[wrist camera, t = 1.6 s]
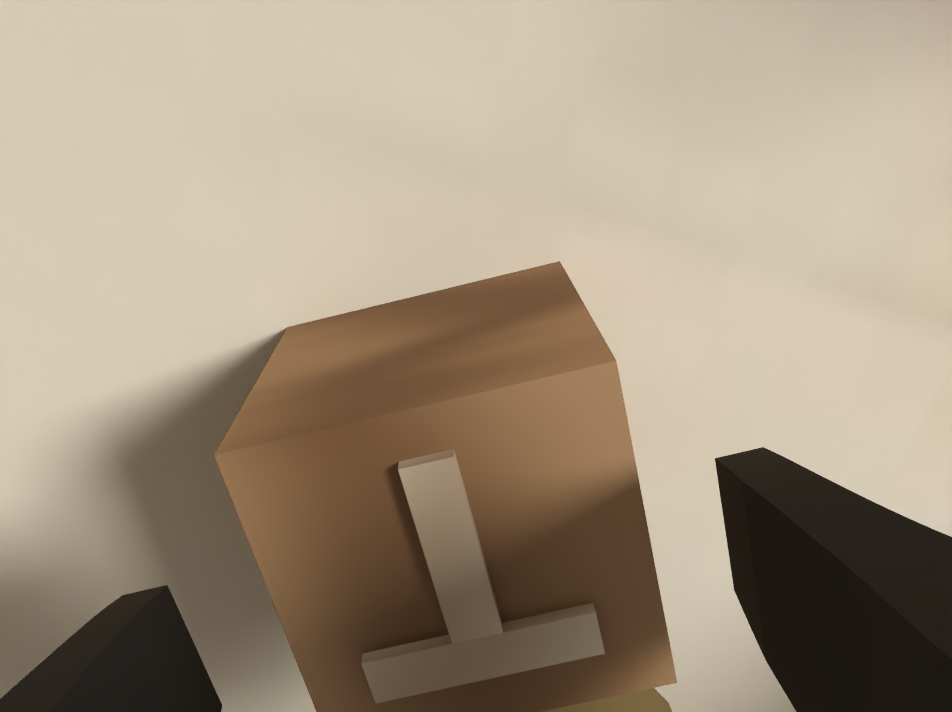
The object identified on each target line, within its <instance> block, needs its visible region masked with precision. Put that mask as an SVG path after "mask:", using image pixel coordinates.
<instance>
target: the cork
mask: <svg viewBox="0 0 952 712" xmlns="http://www.w3.org/2000/svg"><path fill="white" fill-rule="evenodd" d="M543 712H672V711H671V708H670V706H669V703H668V702H667V701H666V700H665V699H664V698H663V697H662V696H661V695H660V694H659V693H658V692H657V691H656V690H655V689H654V688H649V689H645V690H640V691H636V692H631V693H626V694H622V695H617V696H612V697H608V698H603V699H598V700H594V701H589V702H584V703H580V704H575V705H570V706H566V707H561V708H557V709H552V710H547V711H543Z"/></svg>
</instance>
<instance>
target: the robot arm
mask: <svg viewBox="0 0 952 712" xmlns="http://www.w3.org/2000/svg"><path fill="white" fill-rule="evenodd" d="M715 462H716V469H717V475H718V482H719V489H720V496H721V503H722V509H723V516H724V523H725V530H726V537H727V543H728V550H729V557H730V564H731V571H732V578H733V584H734V590H735V593H736V595H737V597H738V600H739V602H740V604H741V606H742V609H743V611H744V613H745V615H746V618H747V620H748V622H749V625H750V627H751V629H752V631H753V633H754V636H755V638H756V640H757V642H758V644H759V646H760V649H761V651H762V653H763V655H764V657H765V659H766V661H767V663H768V665H769V666H770V668H771V670H772V671H773V673H774V675H775V677H776V678H777V680H778V682H779V683H780V685H781V687H782V688H783V690H784V692H785V693H786V695H787V697H788V698H789V700H790V702H791V703H792V705H793V707H794V708H795V710H796V712H952V537H950V536H948V535H945V534H943V533H940V532H938V531H936V530H933V529H931V528H929V527H926V526H924V525H922V524H920V523H917V522H915V521H913V520H911V519H908V518H906V517H904V516H902V515H900V514H898V513H895V512H893V511H891V510H889V509H887V508H885V507H883V506H881V505H878V504H876V503H874V502H872V501H870V500H868V499H866V498H864V497H862V496H860V495H858V494H856V493H854V492H852V491H850V490H848V489H846V488H844V487H842V486H840V485H838V484H836V483H834V482H832V481H830V480H828V479H826V478H824V477H822V476H820V475H818V474H816V473H814V472H812V471H810V470H808V469H806V468H804V467H802V466H800V465H798V464H796V463H794V462H793V461H791V460H789V459H787V458H785V457H783V456H781V455H779V454H776V453H774V452H772V451H770V450H768V449H766V448H758V449H754V450H750V451H745V452H741V453H737V454H732V455H728V456H724V457H719V458H715ZM221 708H222V704H221V702H220V700H219V697H218V695H217V693H216V691H215V689H214V686H213V684H212V682H211V680H210V678H209V675H208V673H207V671H206V669H205V667H204V665H203V662H202V660H201V658H200V656H199V654H198V651H197V649H196V647H195V645H194V643H193V640H192V638H191V636H190V634H189V632H188V629H187V627H186V625H185V623H184V621H183V619H182V616H181V614H180V612H179V610H178V608H177V605H176V603H175V601H174V599H173V597H172V594H171V592H170V590H169V588H168V586H167V585H166V586H161V587H157V588H153V589H148V590H144V591H140V592H135V593H131V594H127V595H123V596H121V597H120V598H118V599H117V600H116V601H114V602H113V603H111V604H110V605H109V606H107V607H106V608H105V609H103V610H102V611H101V612H100V613H98V614H97V615H96V616H95V617H94V618H92V619H91V620H90V621H89V622H87V623H86V624H85V625H84V626H83V627H82V628H80V629H79V630H78V631H77V632H76V633H75V634H73V635H72V636H71V637H70V638H69V639H68V640H67V641H65V642H64V643H63V644H62V645H61V646H60V647H59V648H57V649H56V650H55V651H54V652H53V653H52V654H51V655H50V656H48V657H47V658H46V659H45V660H44V661H43V662H42V663H40V664H39V665H38V666H37V667H36V668H35V669H34V670H33V671H31V672H30V673H29V674H28V675H27V676H26V677H25V678H23V679H22V680H21V681H20V682H19V683H18V684H17V685H16V686H14V687H13V688H12V689H11V690H10V691H9V692H8V693H7V694H5V695H4V696H3V697H2V698H1V699H0V712H221Z"/></svg>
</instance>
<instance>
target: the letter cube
mask: <svg viewBox="0 0 952 712" xmlns="http://www.w3.org/2000/svg"><path fill="white" fill-rule="evenodd" d="M214 457H215V460H216V462H217V465H218V467H219V470H220V472H221V475H222V477H223V480H224V482H225V485H226V487H227V490H228V492H229V495H230V497H231V500H232V502H233V505H234V507H235V510H236V512H237V514H238V517H239V519H240V522H241V524H242V527H243V529H244V532H245V534H246V537H247V539H248V542H249V544H250V547H251V549H252V552H253V554H254V557H255V559H256V562H257V564H258V567H259V569H260V572H261V574H262V577H263V579H264V582H265V584H266V587H267V589H268V592H269V594H270V597H271V599H272V602H273V604H274V607H275V609H276V612H277V614H278V617H279V619H280V622H281V624H282V627H283V629H284V632H285V634H286V637H287V639H288V642H289V644H290V647H291V649H292V652H293V654H294V657H295V659H296V662H297V664H298V667H299V669H300V672H301V674H302V677H303V679H304V681H305V684H306V686H307V689H308V691H309V694H310V696H311V699H312V701H313V704H314V706H315V709H316V711H317V712H543V711H547V710H552V709H557V708H561V707H566V706H570V705H575V704H580V703H584V702H589V701H594V700H598V699H603V698H608V697H612V696H617V695H622V694H626V693H631V692H636V691H640V690H645V689H649V688H654V687H659V686H663V685H668V684H673V683H677V680H676V675H675V670H674V664H673V659H672V654H671V649H670V643H669V638H668V633H667V627H666V622H665V617H664V611H663V606H662V601H661V596H660V590H659V585H658V580H657V574H656V569H655V564H654V559H653V553H652V548H651V543H650V537H649V532H648V527H647V521H646V516H645V511H644V506H643V500H642V495H641V490H640V484H639V479H638V474H637V468H636V463H635V458H634V453H633V447H632V442H631V437H630V431H629V426H628V421H627V415H626V410H625V405H624V400H623V394H622V389H621V384H620V378H619V373H618V368H617V363H616V360H615V358H614V356H613V354H612V353H611V351H610V349H609V347H608V346H607V344H606V342H605V340H604V338H603V337H602V335H601V333H600V331H599V330H598V328H597V326H596V324H595V323H594V321H593V319H592V317H591V316H590V314H589V312H588V310H587V309H586V307H585V305H584V303H583V301H582V300H581V298H580V296H579V294H578V293H577V291H576V289H575V287H574V286H573V284H572V282H571V280H570V279H569V277H568V275H567V273H566V271H565V270H564V268H563V266H562V264H561V263H560V261H559V262H555V263H551V264H547V265H543V266H539V267H535V268H530V269H526V270H522V271H518V272H514V273H510V274H506V275H502V276H497V277H493V278H489V279H485V280H481V281H477V282H473V283H468V284H464V285H460V286H456V287H452V288H448V289H444V290H440V291H435V292H431V293H427V294H423V295H419V296H415V297H411V298H407V299H402V300H398V301H394V302H390V303H386V304H382V305H378V306H373V307H369V308H365V309H361V310H357V311H353V312H349V313H345V314H340V315H336V316H332V317H328V318H324V319H320V320H316V321H312V322H307V323H303V324H299V325H295V326H291V327H287V329H286V331H285V332H284V334H283V336H282V338H281V339H280V341H279V343H278V345H277V346H276V348H275V350H274V351H273V353H272V355H271V357H270V358H269V360H268V362H267V364H266V365H265V367H264V369H263V371H262V372H261V374H260V376H259V378H258V379H257V381H256V383H255V385H254V386H253V388H252V390H251V392H250V393H249V395H248V397H247V398H246V400H245V402H244V404H243V405H242V407H241V409H240V411H239V412H238V414H237V416H236V418H235V419H234V421H233V423H232V425H231V426H230V428H229V430H228V432H227V433H226V435H225V437H224V438H223V440H222V442H221V444H220V445H219V447H218V449H217V451H216V452H215V454H214Z"/></svg>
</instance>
